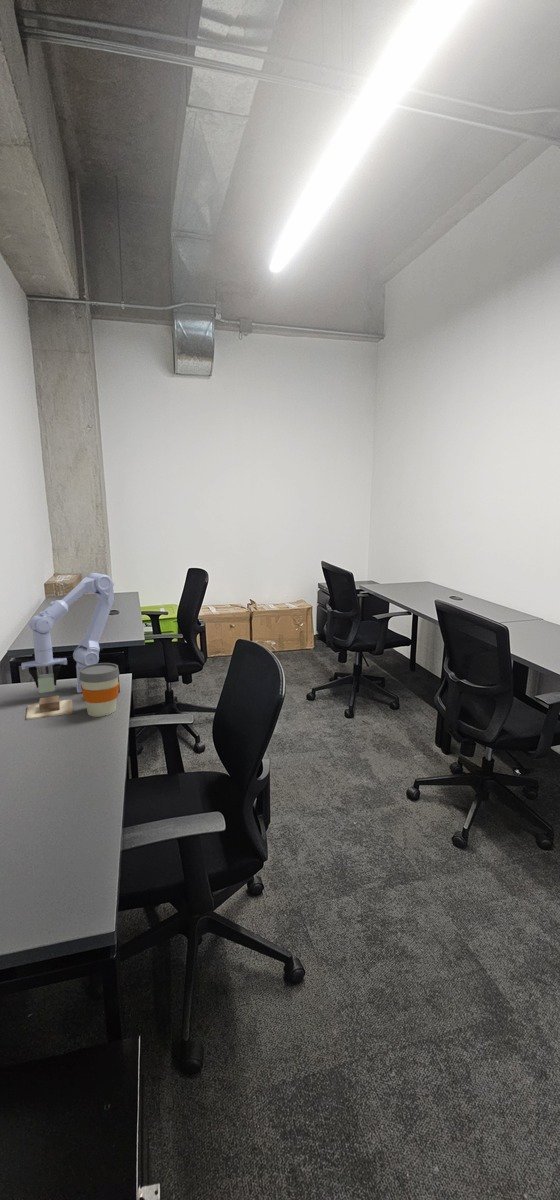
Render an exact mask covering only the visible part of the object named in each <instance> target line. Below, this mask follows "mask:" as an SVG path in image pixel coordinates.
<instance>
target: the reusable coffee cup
mask: <svg viewBox="0 0 560 1200" xmlns="http://www.w3.org/2000/svg"><path fill="white" fill-rule="evenodd" d="M117 665H118V664H116V663H111V662H100V663H99V662H98V663H97V664H92V665H88V666H85V667H83V668H81V669H80V676H79V679H80V680H81V683H82V686H81V690H82V692H81V696H82V700H83V701H84V702H85V705H86V706H85V707H86V709H87V710H86V711H87V714H88V715H89V716H91V717H105V715H106V716H109V715H108V714H110V715H111V713H112V714H114V713H115V712H116V711H117V702H118V701H117V700H118V699H117V698H118V697H119V693H118V691H119V685H120V681H119V682H118V676H119V677H120V670H119V665H118V666H117ZM115 710H116V711H115ZM114 711H115V712H114ZM113 712H114V713H113Z"/></svg>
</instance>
